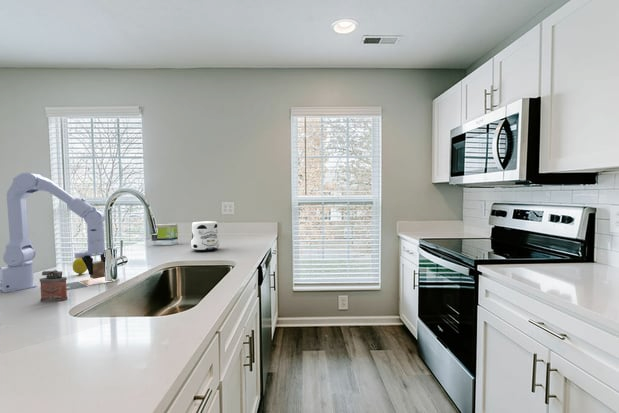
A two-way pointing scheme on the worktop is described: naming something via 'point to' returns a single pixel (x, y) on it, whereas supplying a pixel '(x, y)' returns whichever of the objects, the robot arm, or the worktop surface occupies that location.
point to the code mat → (74, 285)
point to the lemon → (79, 266)
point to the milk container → (204, 236)
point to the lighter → (53, 287)
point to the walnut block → (98, 269)
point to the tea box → (166, 235)
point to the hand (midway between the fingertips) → (97, 273)
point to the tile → (95, 281)
